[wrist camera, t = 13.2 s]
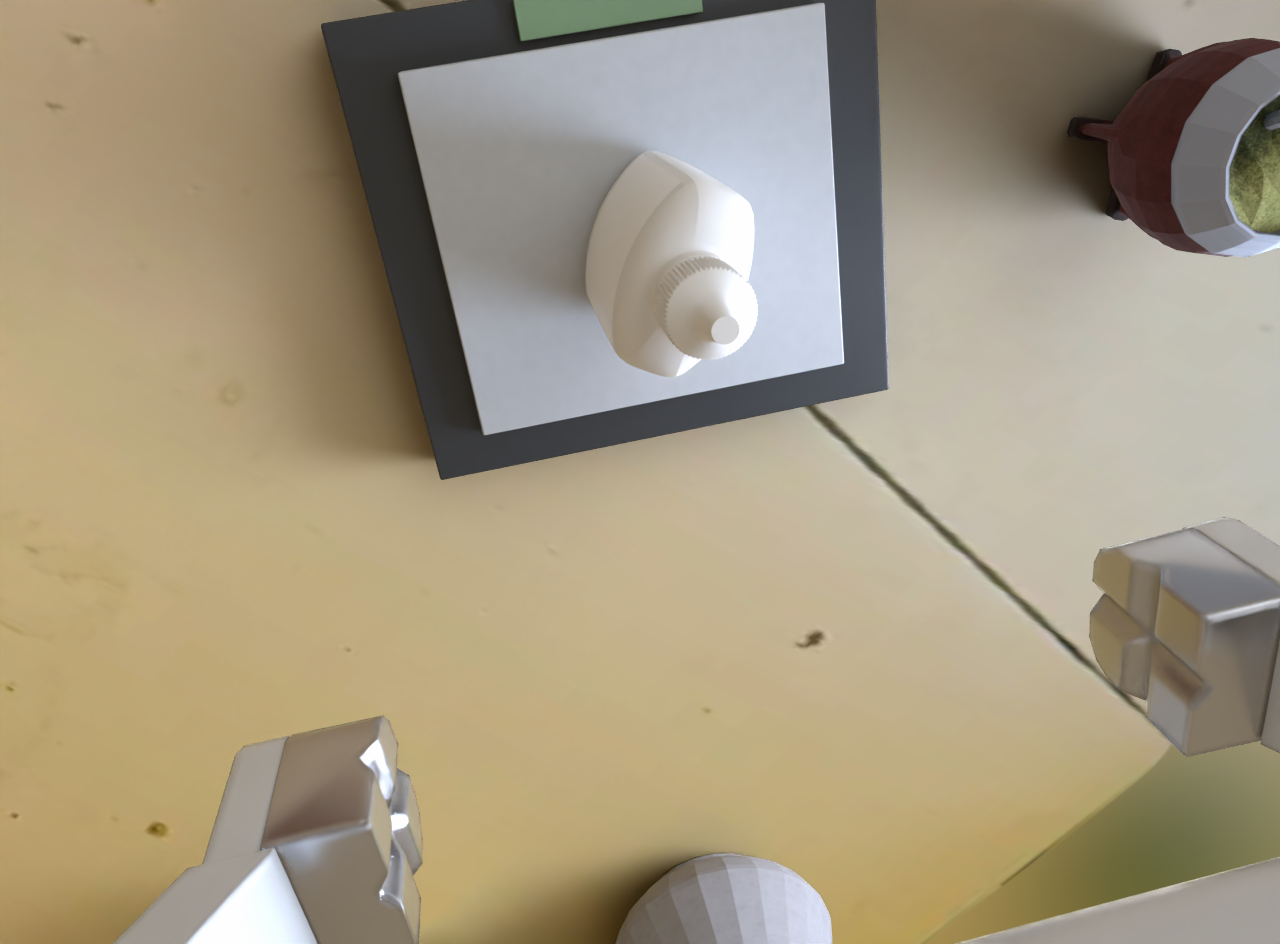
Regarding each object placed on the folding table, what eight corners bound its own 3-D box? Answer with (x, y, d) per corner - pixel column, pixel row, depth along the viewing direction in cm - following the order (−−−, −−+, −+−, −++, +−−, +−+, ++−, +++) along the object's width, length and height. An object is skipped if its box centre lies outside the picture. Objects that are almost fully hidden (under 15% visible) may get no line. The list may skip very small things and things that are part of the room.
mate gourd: (1183, 235, 40) (1551, 339, 26) (1012, 214, 38) (1313, 314, 25) (1252, 40, 37) (1706, 45, 23) (1071, 8, 35) (1447, -7, 22)
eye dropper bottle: (538, 238, 33) (575, 338, 22) (665, 129, 32) (768, 178, 21) (616, 331, 35) (687, 466, 24) (739, 230, 34) (868, 322, 23)
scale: (327, 24, 31) (317, 23, 29) (852, -60, 33) (882, -67, 31) (441, 460, 38) (440, 487, 36) (870, 374, 40) (895, 395, 38)
